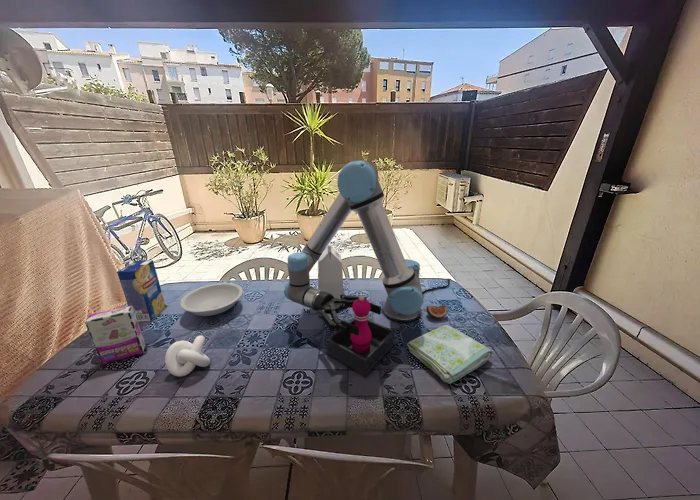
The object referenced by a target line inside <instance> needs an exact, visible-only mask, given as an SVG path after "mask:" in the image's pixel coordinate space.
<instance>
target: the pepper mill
mask: <svg viewBox="0 0 700 500" xmlns="http://www.w3.org/2000/svg"><path fill="white" fill-rule="evenodd" d="M358 296H359V299H356V300H355V301H354V302H353V305H352V308H351V309H352V311H353V319H354V318H355V326H358V327H359V335H358V336H357V335H355V334H352V333H351V336H350V338H351V341H352V349H353V350H354V351H355V352H357V353H365V352H367V351H369V349H370V341H371V340H372V334H371V330H370V328H369V326H368V323H367V319H368V320H369V318H370V312H371V311H370V310H371V305H370V303H371V302H370V301H369V300H368V299H367V300H366V299H364V297H365V296H364V295H363V294H362V295H358Z"/></svg>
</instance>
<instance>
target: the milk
mask: <svg viewBox="0 0 700 500" xmlns="http://www.w3.org/2000/svg"><path fill="white" fill-rule="evenodd" d="M317 286H318V287H317V289H319V290H322V291H324V292H327V293H330V294H332V295H333V297H334V298H340V295H341V294H343V295H345V294H344V293H345V292H344V272H343V260H342V256H341V254H340V252H339V251H338V250H337V249H335V248H333V246H332V244H331V242H330V243H329V244H328V246H327V247H326V249H325V250H324V252H323V253H322V255H321V256H320V258H319V259H318V261H317Z"/></svg>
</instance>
